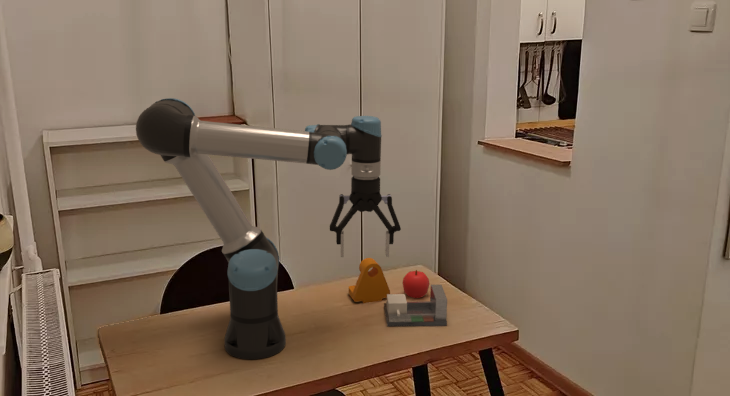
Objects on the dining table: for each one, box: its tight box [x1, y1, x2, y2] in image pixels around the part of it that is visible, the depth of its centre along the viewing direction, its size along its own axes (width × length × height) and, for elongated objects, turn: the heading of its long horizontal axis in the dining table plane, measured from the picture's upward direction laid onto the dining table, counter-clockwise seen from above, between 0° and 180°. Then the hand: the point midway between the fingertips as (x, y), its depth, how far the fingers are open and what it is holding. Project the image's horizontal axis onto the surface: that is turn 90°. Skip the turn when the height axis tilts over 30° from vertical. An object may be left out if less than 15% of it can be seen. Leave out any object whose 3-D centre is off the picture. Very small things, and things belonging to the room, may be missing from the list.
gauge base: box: [383, 284, 448, 328], centre depth 182 cm, size 16×12×7 cm
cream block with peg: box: [386, 293, 408, 317], centre depth 180 cm, size 5×9×4 cm, turn 3°
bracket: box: [348, 257, 391, 304], centre depth 193 cm, size 11×7×12 cm, turn 108°
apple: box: [402, 269, 430, 299], centre depth 195 cm, size 8×8×8 cm
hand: (364, 255), depth 177 cm, fingers open, 11 cm apart
